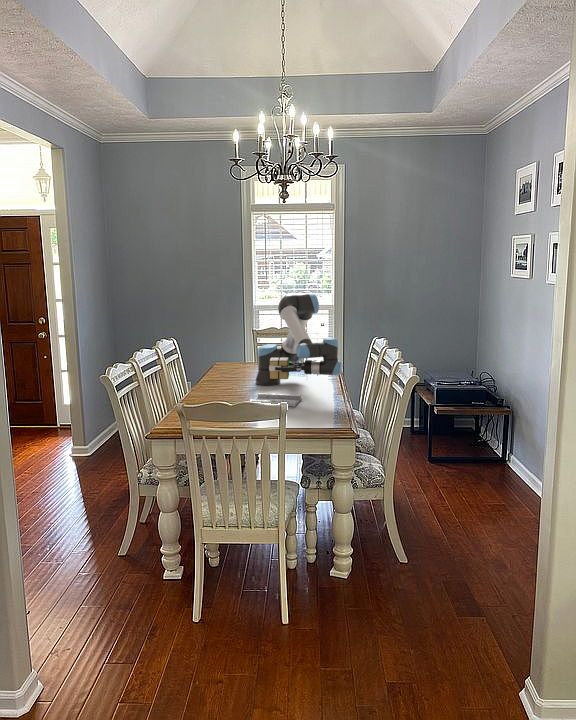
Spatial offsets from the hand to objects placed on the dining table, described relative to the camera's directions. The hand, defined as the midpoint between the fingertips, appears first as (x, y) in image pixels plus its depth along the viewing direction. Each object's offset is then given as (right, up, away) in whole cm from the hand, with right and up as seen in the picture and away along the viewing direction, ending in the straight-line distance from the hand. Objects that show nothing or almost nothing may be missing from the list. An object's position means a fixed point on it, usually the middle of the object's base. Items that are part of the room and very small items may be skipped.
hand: (272, 366), depth 319 cm
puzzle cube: (+4, -6, 0) cm, 7 cm away
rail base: (+2, -19, -3) cm, 20 cm away
